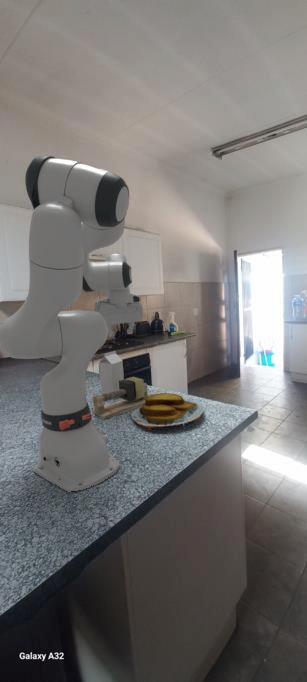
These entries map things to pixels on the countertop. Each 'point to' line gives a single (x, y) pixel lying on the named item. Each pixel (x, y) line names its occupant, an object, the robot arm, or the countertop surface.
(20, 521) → the countertop surface
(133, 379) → the tan block
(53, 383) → the robot arm
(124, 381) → the dark grey hooked block
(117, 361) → the milk carton
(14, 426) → the countertop surface
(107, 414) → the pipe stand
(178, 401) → the food on plate
